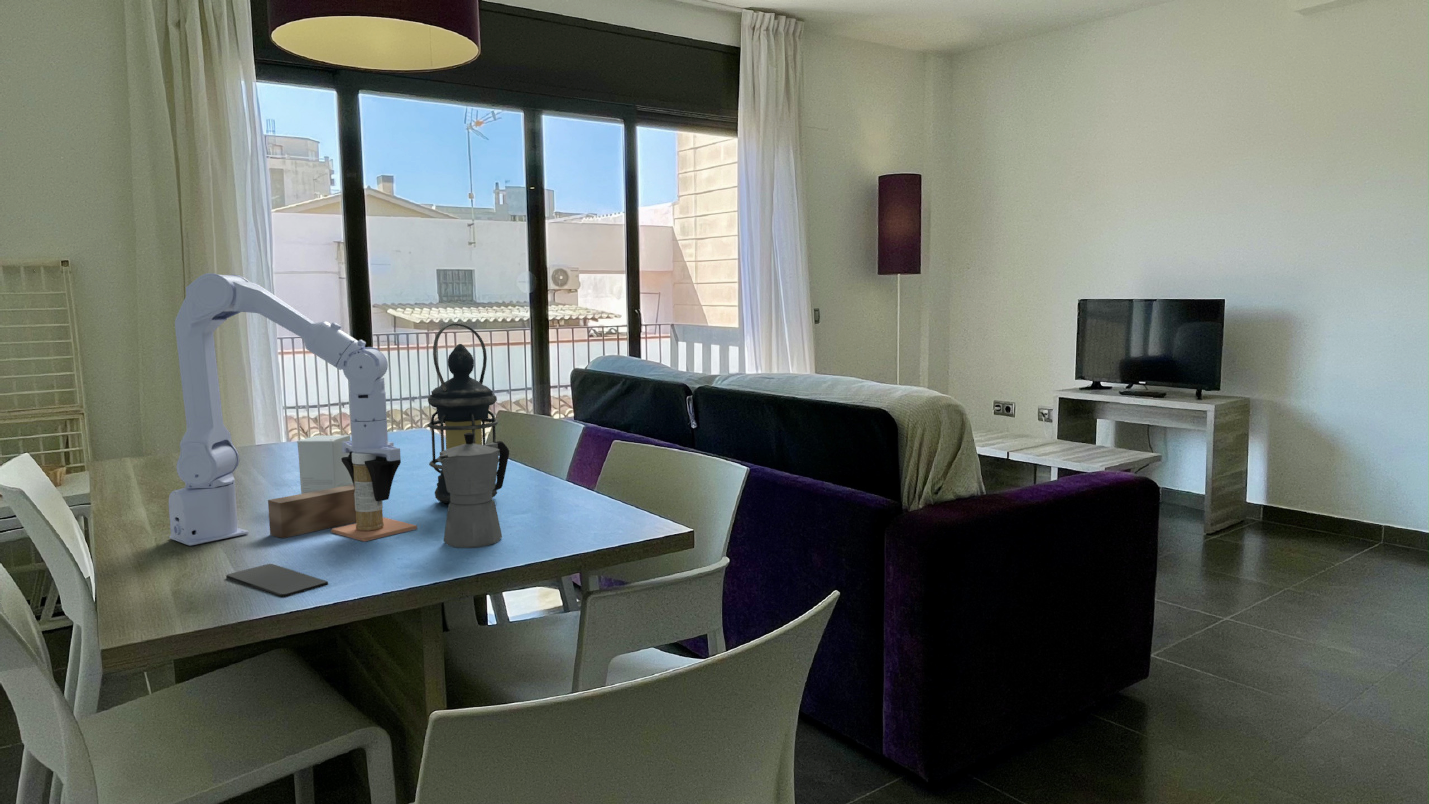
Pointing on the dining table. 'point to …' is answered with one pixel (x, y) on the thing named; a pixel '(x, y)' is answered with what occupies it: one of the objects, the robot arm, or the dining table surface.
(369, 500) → the sprinkles bottle
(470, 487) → the coffeepot
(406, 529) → the pad
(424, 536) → the dining table surface
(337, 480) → the supplement box
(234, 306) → the robot arm
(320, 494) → the long brown wooden block
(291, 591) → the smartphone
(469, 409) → the lantern
